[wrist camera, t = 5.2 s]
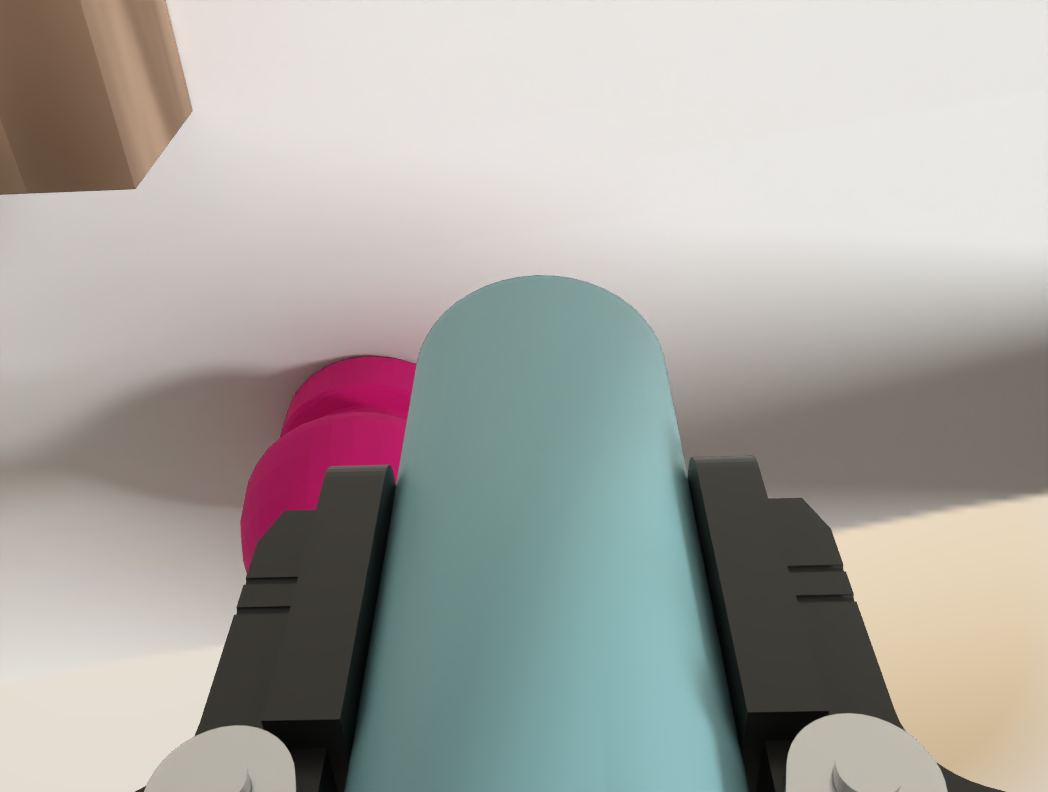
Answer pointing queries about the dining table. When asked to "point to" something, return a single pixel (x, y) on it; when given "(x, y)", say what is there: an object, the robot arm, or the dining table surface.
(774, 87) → the dining table surface
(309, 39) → the dining table surface
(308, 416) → the pepper mill
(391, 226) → the dining table surface
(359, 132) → the dining table surface
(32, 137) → the socket block
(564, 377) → the peg
